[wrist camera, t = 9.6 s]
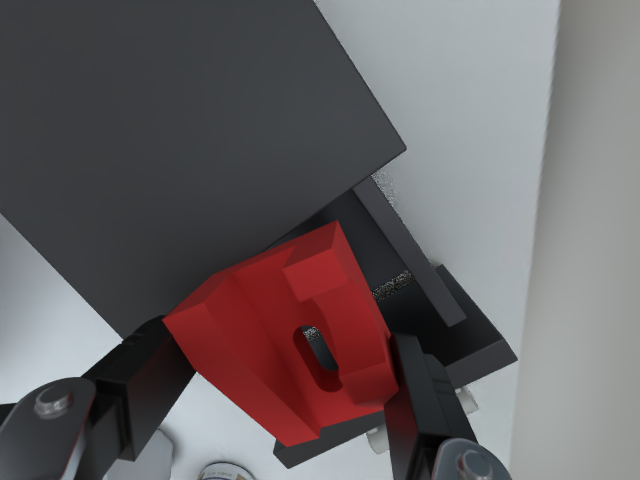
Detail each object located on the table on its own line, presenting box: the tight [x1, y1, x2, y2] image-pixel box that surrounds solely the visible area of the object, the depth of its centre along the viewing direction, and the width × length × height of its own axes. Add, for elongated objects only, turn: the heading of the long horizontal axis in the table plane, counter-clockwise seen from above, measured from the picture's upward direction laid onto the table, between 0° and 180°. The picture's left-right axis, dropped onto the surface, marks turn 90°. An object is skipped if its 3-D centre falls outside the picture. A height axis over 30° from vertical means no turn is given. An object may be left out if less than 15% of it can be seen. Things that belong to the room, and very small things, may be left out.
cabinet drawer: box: [262, 175, 518, 469], centre depth 16 cm, size 18×11×8 cm, turn 36°
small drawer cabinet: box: [0, 0, 407, 340], centre depth 14 cm, size 15×13×10 cm
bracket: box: [162, 220, 399, 447], centre depth 9 cm, size 6×5×3 cm
